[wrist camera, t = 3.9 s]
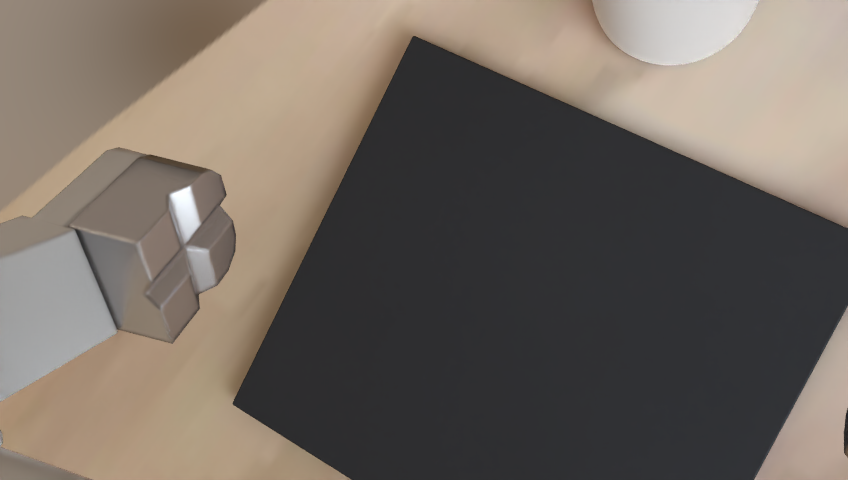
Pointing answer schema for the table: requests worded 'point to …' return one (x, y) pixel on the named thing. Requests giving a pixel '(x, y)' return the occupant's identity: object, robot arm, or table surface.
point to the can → (673, 27)
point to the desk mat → (542, 299)
